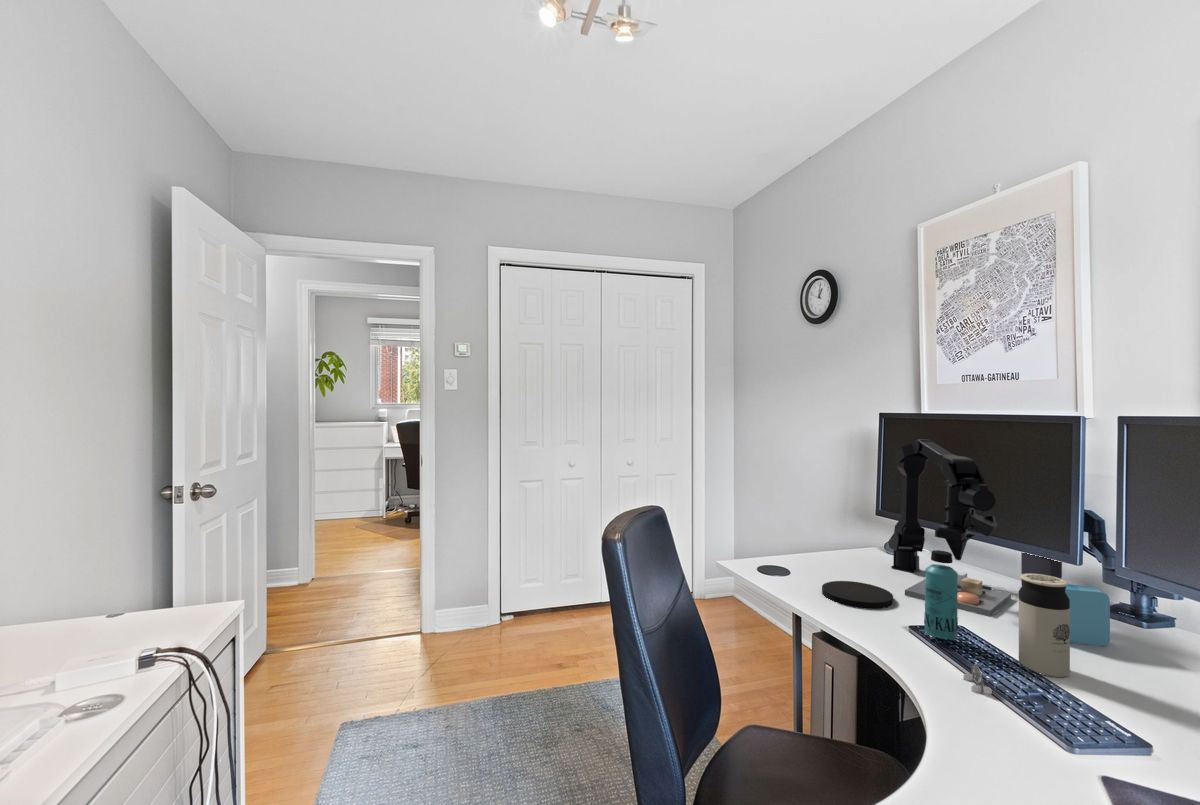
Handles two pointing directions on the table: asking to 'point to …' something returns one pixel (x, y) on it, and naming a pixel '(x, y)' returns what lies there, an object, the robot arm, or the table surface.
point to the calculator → (1040, 566)
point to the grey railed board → (987, 604)
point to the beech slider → (971, 586)
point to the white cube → (961, 577)
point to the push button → (968, 598)
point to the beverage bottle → (941, 597)
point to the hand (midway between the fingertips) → (958, 559)
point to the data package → (1089, 615)
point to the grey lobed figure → (977, 680)
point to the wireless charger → (857, 594)
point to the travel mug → (1044, 625)
